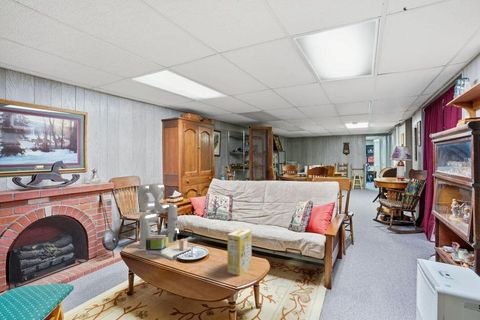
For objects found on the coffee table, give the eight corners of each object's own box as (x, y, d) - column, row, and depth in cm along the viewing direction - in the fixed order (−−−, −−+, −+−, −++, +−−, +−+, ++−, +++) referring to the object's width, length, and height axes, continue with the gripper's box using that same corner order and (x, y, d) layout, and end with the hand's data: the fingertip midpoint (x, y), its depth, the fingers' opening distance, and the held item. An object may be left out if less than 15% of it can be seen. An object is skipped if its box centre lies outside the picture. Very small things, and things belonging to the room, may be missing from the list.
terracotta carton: (179, 250, 208) (179, 240, 209) (183, 248, 213) (183, 238, 213) (183, 251, 206) (183, 241, 206) (187, 249, 210) (187, 239, 210)
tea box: (166, 250, 212) (166, 234, 212) (161, 255, 202) (161, 238, 202) (150, 250, 213) (151, 234, 213) (145, 254, 203) (145, 237, 203)
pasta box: (240, 263, 186) (240, 228, 187) (251, 266, 181) (251, 230, 181) (227, 272, 171) (227, 234, 171) (239, 275, 165) (239, 236, 166)
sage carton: (168, 242, 197) (168, 231, 197) (173, 240, 201) (173, 230, 201) (172, 243, 194) (172, 232, 194) (177, 241, 198) (177, 231, 199)
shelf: (160, 255, 201) (160, 250, 201) (178, 248, 217) (178, 243, 217) (173, 260, 191) (173, 254, 191) (191, 252, 208) (191, 247, 208)
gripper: (182, 219, 196) (182, 240, 196) (169, 216, 206) (169, 237, 206) (175, 221, 190) (175, 243, 190) (162, 218, 200) (162, 239, 200)
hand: (172, 239), depth 198 cm, fingers closed on sage carton, 5 cm apart
